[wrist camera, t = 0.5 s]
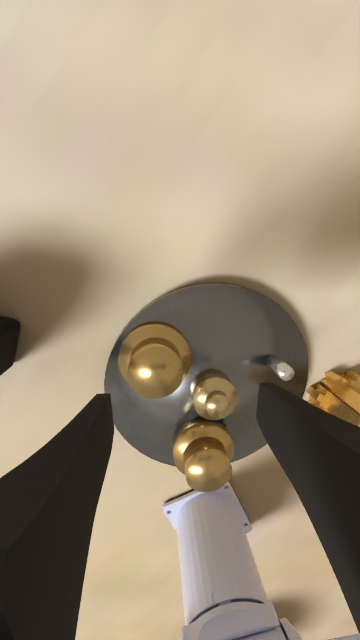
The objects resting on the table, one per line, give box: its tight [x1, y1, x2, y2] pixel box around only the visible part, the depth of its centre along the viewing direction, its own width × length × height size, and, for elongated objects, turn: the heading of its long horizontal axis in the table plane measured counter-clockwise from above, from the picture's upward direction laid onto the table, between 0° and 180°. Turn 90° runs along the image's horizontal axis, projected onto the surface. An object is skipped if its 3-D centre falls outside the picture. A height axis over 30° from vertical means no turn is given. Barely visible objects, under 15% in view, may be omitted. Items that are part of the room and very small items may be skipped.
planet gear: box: [307, 369, 360, 427], centre depth 22 cm, size 7×7×5 cm
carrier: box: [104, 283, 308, 492], centre depth 20 cm, size 19×19×4 cm
